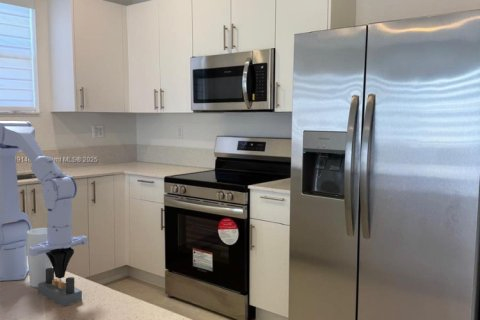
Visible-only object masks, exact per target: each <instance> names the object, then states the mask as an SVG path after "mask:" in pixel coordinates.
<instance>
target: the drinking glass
mask: <svg viewBox="0 0 480 320" xmlns="http://www.w3.org/2000/svg"><path fill="white" fill-rule="evenodd" d="M44 242H47V227H37V228H35V227H34V228H32V229H31V230H28V231H27V237H26V244H25V245H26V248H27V267H29V271H28V275H29V286H30V287H31V288H37V289H38V284H39V283H42V282H46V269H47V268H53V266H52V264H51V262H50V260H49V258H48V256H47V255H46V253H43V254H38V255H37V256H34V257H33V256H31V255H29V247H32V246H36V245H38V244H41V243H44Z"/></svg>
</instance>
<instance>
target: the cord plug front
mask: <svg viewBox="0 0 480 320" xmlns="http://www.w3.org/2000/svg"><path fill="white" fill-rule="evenodd" d="M65 281H66V294H72V293H74V287H75V277H74V276H69V277H66V278H65Z"/></svg>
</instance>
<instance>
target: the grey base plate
mask: <svg viewBox="0 0 480 320" xmlns="http://www.w3.org/2000/svg"><path fill="white" fill-rule="evenodd" d="M55 279H57V277H55ZM61 282H63V280H61ZM37 289H38V290H37V293H38V294H39V295H41V296H43V297H45V298H47V299H49V300H50V301H53V302H54V303H56V304H57V305H59V306H61V307H66V306H70V305H73V304H75V303H77V302H80V301H82V300H83V298H82V296H83V291H82V289H80V288H77V287H75V286H74V293H72V294H66V287H65V288H62V289H60V288H58V285H55V286H54V285H52V283H50V284H47V283H46V282H42V283H39V284H38V288H37Z"/></svg>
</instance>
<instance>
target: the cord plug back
mask: <svg viewBox="0 0 480 320" xmlns="http://www.w3.org/2000/svg"><path fill="white" fill-rule="evenodd" d="M53 279H55V273H54V269H53V267H52V268H47V269H46V283H47V284H50V283H52V280H53Z"/></svg>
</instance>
